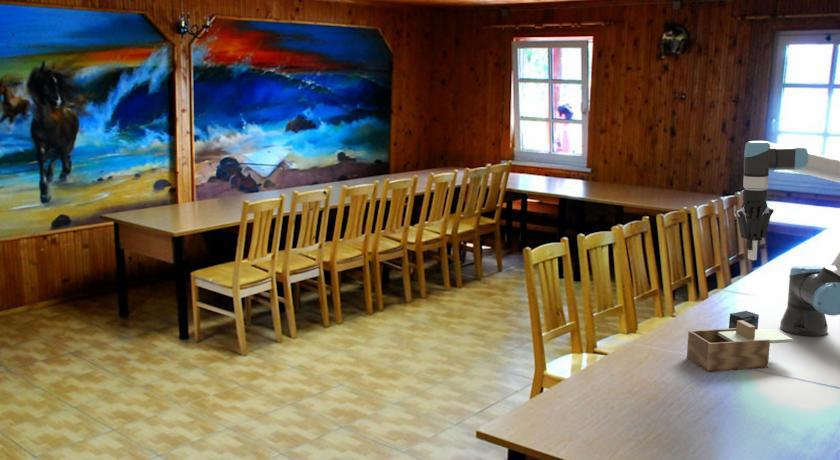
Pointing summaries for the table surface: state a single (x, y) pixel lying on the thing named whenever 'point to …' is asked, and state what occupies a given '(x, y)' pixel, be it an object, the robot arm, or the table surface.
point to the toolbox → (726, 351)
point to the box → (743, 318)
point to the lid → (753, 334)
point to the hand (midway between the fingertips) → (752, 259)
